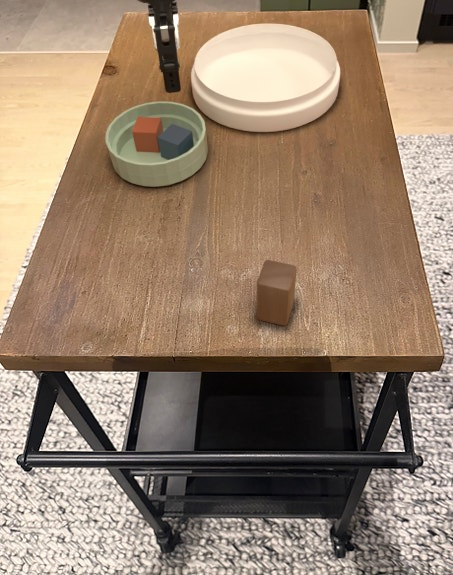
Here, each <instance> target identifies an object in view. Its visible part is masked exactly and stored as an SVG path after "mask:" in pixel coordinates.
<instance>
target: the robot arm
mask: <svg viewBox="0 0 453 575" xmlns="http://www.w3.org/2000/svg"><path fill="white" fill-rule="evenodd" d="M137 1H138V2H139V3H142V4H147V10H148V13H147V17H148V25H149V27H150V29H151V32H152V40H153V48H154V49H155V51H156V52H157V55H158V68H159V69H158V70H159V71H160V73H162V77H163V85H164V91H165V93H167V94H173V93H179V92H181V90H182V85H181V79H180V78H181V77H180V68H181V63H180V60H179V58H178V50H179V49H180V48H181V41H180V33H179V25H180V17H179V8H178V0H137Z"/></svg>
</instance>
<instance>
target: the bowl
mask: <svg viewBox="0 0 453 575" xmlns="http://www.w3.org/2000/svg"><path fill="white" fill-rule="evenodd" d="M137 117H154V118H161V121H162V126H163V132H164V131H165V130H166V129H167V128H168V127H169V126H170V125H171V124H174V125H177V126H180V127H182V128H185V129H188V130H190V131H192V134H193V142H194V147H193V148H191V149H190V150H189V151H188V152H186V153H184V154H183V155H181V156H179V157H177V158H174V159H170V160H167V159H165V158H162V157H161V153H156V152H137V151H136V147H135V143H134V139H133V134H132V130H133V128H134V125H135V123H136V120H137ZM105 146H106V148H107V152H108V156H109V158H110V162H111V165H112V168H113V170H114V172H116V174H117V175H118V176H119V177H120V178H121V179H123V180H125V181H127V182H129V183H131V184H134V185H138V186H141V187H152V188H153V187H154V188H156V187H165V186H170V185H174V184H177V183H180V182H183V181H184V180H187V179H188V178H190V177H192V176H193V175H195V173H196V172H198V171H199V170H200V169H201V168H202V167H203V165H204V163H206V160H207V158H208V153H209V146H208V137H207V128H206V121H205V120H204V118H203V117H202V115H201V113H199V112H198V111H197V110H195V109H194V108H193V107H191V106H188V105H186V104H184V103H179V102H176V101H175V102H174V101H164V100H163V101H162V100H160V101H158V100H157V101H151V102H149V101H148V102H145V103H141V104H138V105H135V106H133V107H130V108H128V109H126V110H124V111H123V112H121V113H119V115H117V116H116V117H115V118H114V119H113V120H112V122H111V123H109V125H108V127H107V129H106V132H105Z"/></svg>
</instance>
